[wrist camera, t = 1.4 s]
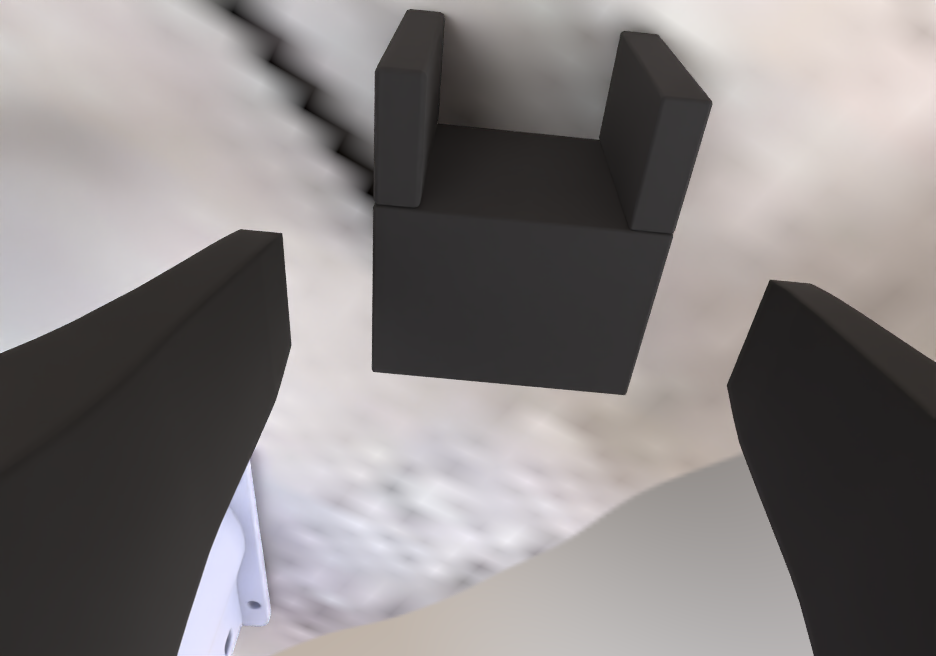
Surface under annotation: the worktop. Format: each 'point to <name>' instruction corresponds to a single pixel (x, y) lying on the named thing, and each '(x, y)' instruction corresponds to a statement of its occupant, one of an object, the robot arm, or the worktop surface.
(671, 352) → the worktop surface
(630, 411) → the worktop surface
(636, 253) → the pad
